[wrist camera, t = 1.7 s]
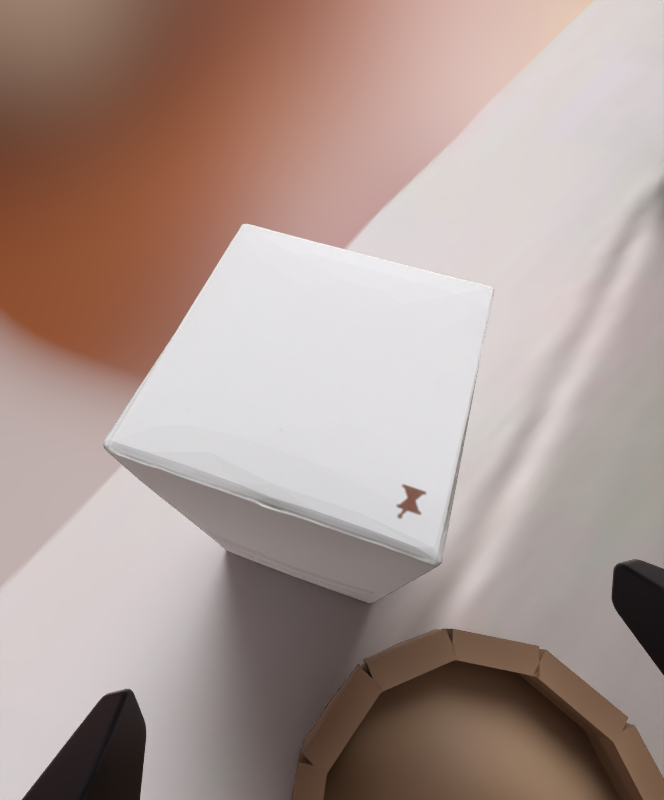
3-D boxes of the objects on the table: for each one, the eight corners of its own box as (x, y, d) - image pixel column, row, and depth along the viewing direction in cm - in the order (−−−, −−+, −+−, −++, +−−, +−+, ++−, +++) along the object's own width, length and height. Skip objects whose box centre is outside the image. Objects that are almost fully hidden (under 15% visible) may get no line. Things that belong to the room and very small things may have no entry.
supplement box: (415, 456, 22) (510, 283, 11) (372, 608, 19) (446, 581, 8) (280, 411, 23) (242, 211, 12) (218, 549, 20) (87, 450, 9)
